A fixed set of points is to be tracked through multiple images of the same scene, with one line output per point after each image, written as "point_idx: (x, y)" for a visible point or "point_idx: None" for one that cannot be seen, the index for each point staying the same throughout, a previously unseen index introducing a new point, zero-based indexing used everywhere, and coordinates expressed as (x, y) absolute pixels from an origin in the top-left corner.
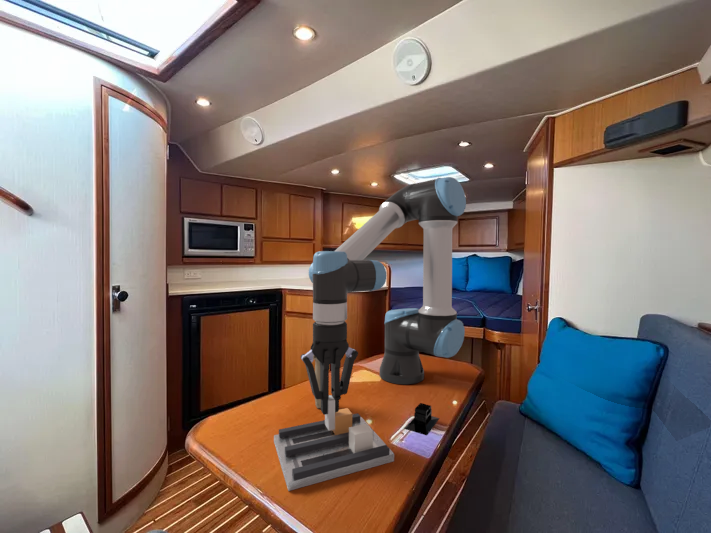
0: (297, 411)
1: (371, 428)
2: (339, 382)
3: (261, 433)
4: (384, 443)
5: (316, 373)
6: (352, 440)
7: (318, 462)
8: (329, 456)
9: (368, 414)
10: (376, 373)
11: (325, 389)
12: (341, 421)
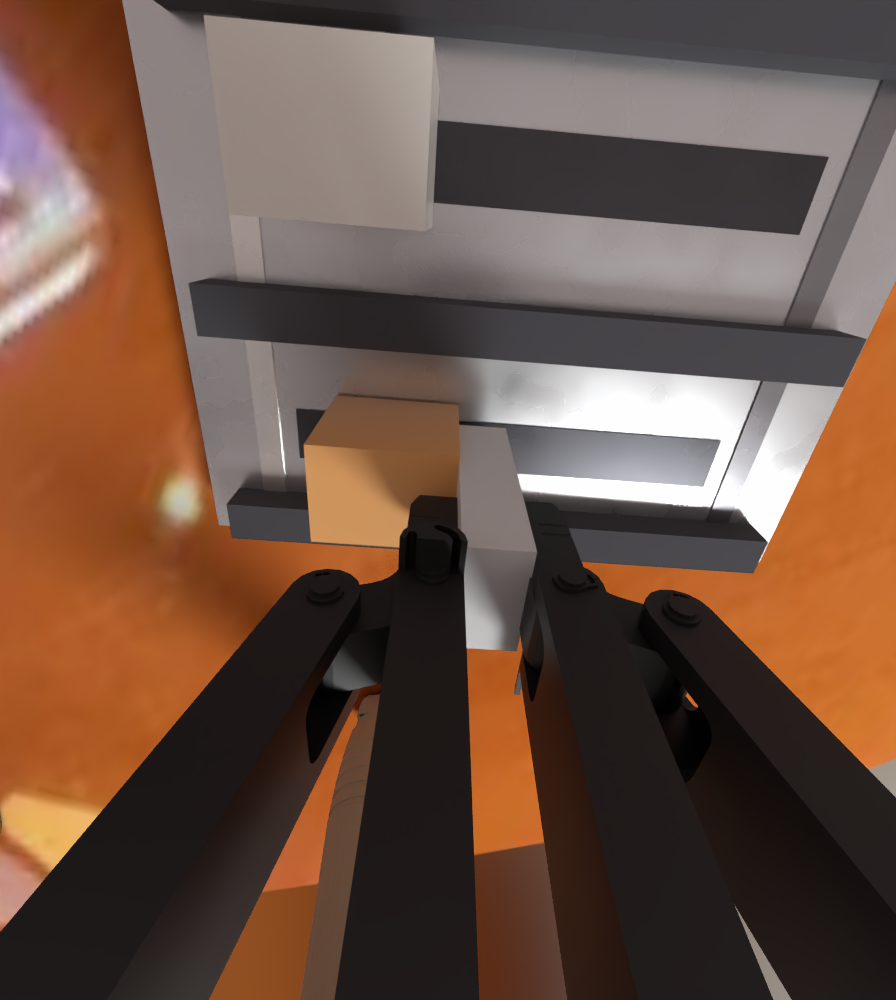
0: (512, 712)
1: (194, 317)
2: (383, 712)
3: (746, 624)
4: (150, 130)
5: None
6: (433, 130)
7: (787, 48)
8: (611, 179)
9: (164, 561)
10: (16, 845)
11: (604, 665)
12: (408, 433)
